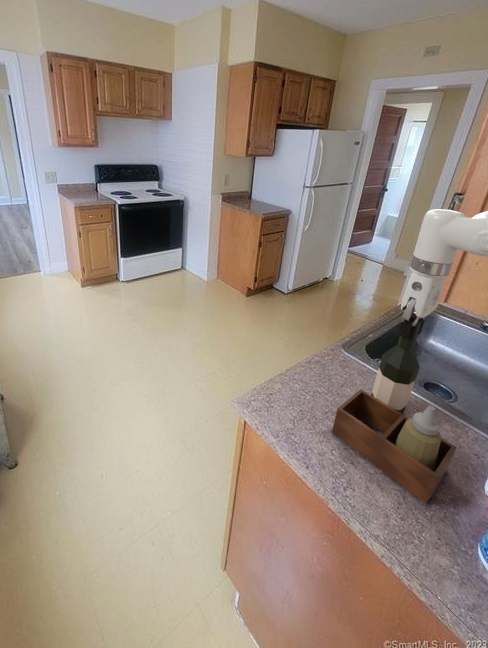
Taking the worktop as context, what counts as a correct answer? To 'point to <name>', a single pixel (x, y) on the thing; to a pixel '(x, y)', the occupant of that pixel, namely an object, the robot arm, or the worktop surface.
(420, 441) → the squeeze bottle
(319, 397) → the worktop surface
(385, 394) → the wine bottle
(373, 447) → the bottle rack
